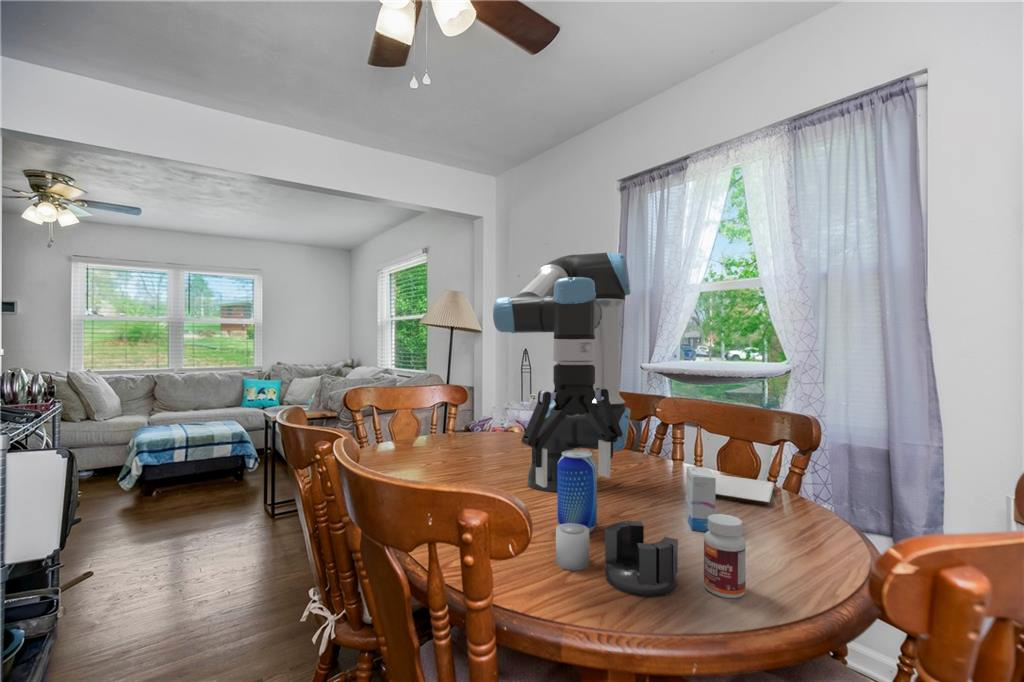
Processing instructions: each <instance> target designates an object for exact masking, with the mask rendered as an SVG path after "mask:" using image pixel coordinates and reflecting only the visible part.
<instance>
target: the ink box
mask: <svg viewBox="0 0 1024 682" xmlns="http://www.w3.org/2000/svg"><path fill="white" fill-rule="evenodd" d="M713 474H714V473H713V472H712V471H711V470H710V469H709V467H701V466H700V467H699V466H691V465H690V466H689V465H688V466H686V474H685V475H686V477H685V479H686V482H685V483H686V484H685V517H684V518H685V519H686V521H687V523H688V525H689V528H690V529H691V531H697V532H708V531H709V529H708V528H707V525H708V516H710V515H713V514H716V497H715V489H716V478H715V477H714V475H713Z"/></svg>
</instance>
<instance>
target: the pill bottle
mask: <svg viewBox="0 0 1024 682" xmlns="http://www.w3.org/2000/svg"><path fill="white" fill-rule="evenodd" d="M707 528H708V529H709V531H705V533H704V537H703V539H704V540H703V585H704V587H705V588H706V590H707V591H709V592H710V593H712V594H713V595H715V596H718V597H721V598H726V599H738V598H741V597H743V596H744V595H745V593H746V541H745V539H744V537H743V536H742V534H743V521H742V520H741V519H740V518H738V517H737V516H733V515H729V514H723V513H715V514H713V515H710V516H708V525H707Z"/></svg>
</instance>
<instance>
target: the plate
mask: <svg viewBox="0 0 1024 682" xmlns="http://www.w3.org/2000/svg"><path fill="white" fill-rule="evenodd" d="M712 474H713V475H714V477H715V478H716V489H715V498H719V499H720V498H721V499H726V500H733V501H739V502H745V503H751V504H757V505H759V504H762V505H763V504H770V502H771V497H772V494H773V491H774V487H775V482H773V481H767V480H758V479H753V478H752V479H751V478H745V477H744V478H742V477H739V476H738V477H736V476H729V475H722V474H717V473H716V474H715V473H712Z"/></svg>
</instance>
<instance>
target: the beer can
mask: <svg viewBox="0 0 1024 682" xmlns="http://www.w3.org/2000/svg"><path fill="white" fill-rule="evenodd" d="M597 464H598V463H597V462H596V461H595V459H594V457H593V453H592V452H590V451H588V450H582V449H579V450H578V449H575V450H568V451H564V452H562V456H561V458H560V460H559V461H558V479H557V491H556V492H557V497H556V498H557V500H556V501H557V506H556V507H557V513H556V514H557V515H556V516H557V517H556V518H557V523H558V524H559V525H561V524H565V523H576V524H581V525H584V526H586V527H587V528H588V529H589V533H591V532H593V530H594V528H595V527H596V526H597V521H598V515H597V514H598V511H597V510H598V496H597V494H598V492H597V491H598V490H597V489H598V488H597V487H598V486H597V485H598V483H597V482H598V465H597ZM559 525H558V526H559Z"/></svg>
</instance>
